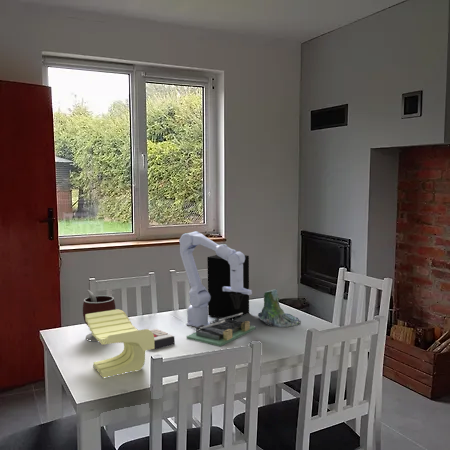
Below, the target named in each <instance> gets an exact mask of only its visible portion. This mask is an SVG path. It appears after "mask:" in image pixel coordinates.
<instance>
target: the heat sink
mask: <svg viewBox="0 0 450 450" xmlns="http://www.w3.org/2000/svg"><path fill="white" fill-rule="evenodd" d="M221 318H222V317H219V318H218V317H216V318H214V321H212V322H211V323H210V324H213V323H216V322H220V321H218V320H219V319H221ZM221 321H223V320H221ZM203 326H204V325H200V326H198V327H196V326H195V330H196V331H195V332H196V336H200V337H205V338H209V339H214V340H218V341H219V340H221V339H223V340H229V339H231V338H232V334H233V333H235V332H237V331H240V330H241V331H244V332H245V331H247V330H249V329H250V321H249V320H245V321H239V320H235V319H233V320H229V319H225V322H223V323H220V324H217V325H213V326H210V327H206V328H203V329H200V327H203Z"/></svg>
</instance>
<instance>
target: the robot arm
mask: <svg viewBox="0 0 450 450" xmlns="http://www.w3.org/2000/svg"><path fill="white" fill-rule="evenodd" d="M178 242H179V255H180V257H181V262H182V264H183V268H184V271H185V273H186V277H187V280H188V283H189V286H190V289H189V291H188V296H189V304H190V305H189V306H188V308H187V315H186V316H187V323H186V325H187V326H191V327H192V326H193V327H195V328H196V327H198V326H200V325H204V326H206V325H210V323H212V322H211V321H209V315H208V302H209V301H210V294H209V292H208V288H207V287H206V286H205V285H203V283H202V281H201V277H200V274H199V270H198V267H197V264H196V261H195V258H194V255H193V252H194V251H195V248H196V247H198V246H199V245H201V246H203V247H205V248H207V249H209V250H212V251H214V252H215V255H217V256H219V257H221V258H223V259H225V260H226V261H228V263H229V264H230V282H231V287H227V286H224V287H223V291H228V292H231V294H229V295H230V297H231V299H232V301H233V304H234V308H235V309H239V308H240V304H241V300H242V298H243V296H244V294H248V295H249V296H250V295H253V290H252V289H250V288H249V289H245V288H243V264H242V263H244V261H245V254H244V253H243V252H242V251H241V250H238V251H237V250H236V249H234V248H231V247H229V246H228V245H227V243H226V244H224V243H221V244H218V243H216V242H215V241H213V240H212V239H210V238H208V237H207V236H205V234H203V233H201V232H199V231H196V230H195V231H192V232H187V233H182V234H181V236H180V238H179V240H178Z"/></svg>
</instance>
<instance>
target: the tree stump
mask: <svg viewBox="0 0 450 450" xmlns="http://www.w3.org/2000/svg"><path fill="white" fill-rule="evenodd" d="M279 300H280V297H279V293H278V290H277V288H274V289H271V290H267V291H264V294H263V307H262V309H261V311H260V312H259V313H258V314H257V316H258V318H259V319H260V320H261V321H262V322H263V323H265V324H266V325H267V326H270V327H277V328H291V327H297V326H298V325H299V324H300V323H301V319H299V317H297V316H295V315H293V314H290V313H285V311H284V310H283V308H282V307H281V305H280V302H279Z"/></svg>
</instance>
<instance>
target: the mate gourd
mask: <svg viewBox="0 0 450 450" xmlns="http://www.w3.org/2000/svg"><path fill="white" fill-rule="evenodd" d="M86 292H88V294H89V297H86V298H84V299H83V303H82V304H83V305H82V316H83V320H84V324H86V326H87V327H88V328H90V327H89V326H88V322H86V319H85V314H90V313H96V312H103V311H110V310H116V309H117V308H116V302H115V297H114V296H110V295H95V294H94V292H92V291H91V290H89V289H87V291H86ZM86 339H88V340H91V341H98V340H97V339H96V338H95V337H94V336H93V335H92V332H91V333H89V334H87V335H86V336H85V340H86ZM88 340H87V341H88ZM91 341H90V342H91Z"/></svg>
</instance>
